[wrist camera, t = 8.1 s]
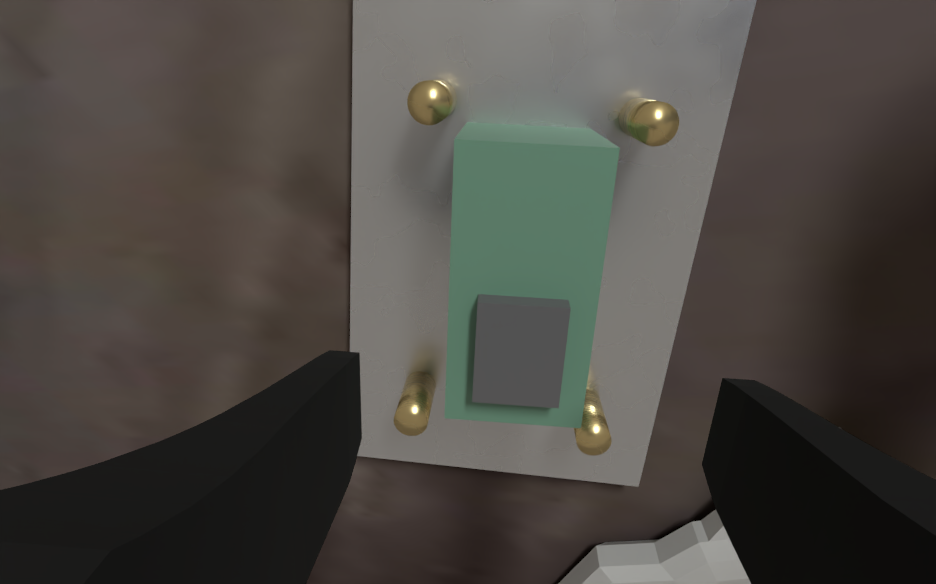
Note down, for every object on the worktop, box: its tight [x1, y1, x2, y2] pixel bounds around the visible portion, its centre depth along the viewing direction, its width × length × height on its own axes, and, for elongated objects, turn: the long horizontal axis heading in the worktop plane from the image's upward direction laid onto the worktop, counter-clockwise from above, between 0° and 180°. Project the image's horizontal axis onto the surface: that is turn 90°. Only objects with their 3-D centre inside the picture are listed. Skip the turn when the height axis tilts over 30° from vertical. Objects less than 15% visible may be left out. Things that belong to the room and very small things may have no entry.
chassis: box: [350, 0, 756, 487], centre depth 19 cm, size 12×18×4 cm, turn 175°
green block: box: [445, 122, 620, 428], centre depth 17 cm, size 4×8×6 cm, turn 177°
